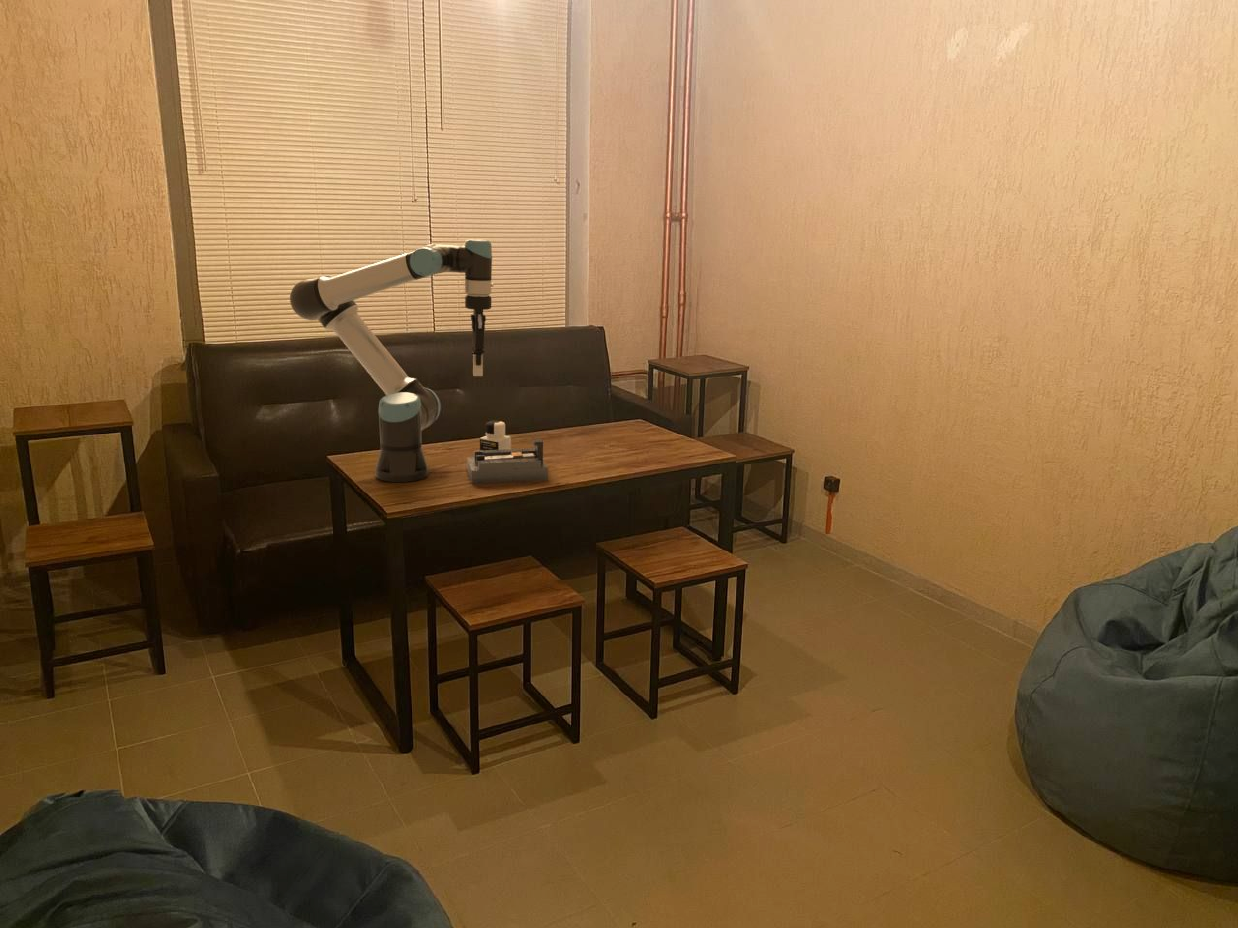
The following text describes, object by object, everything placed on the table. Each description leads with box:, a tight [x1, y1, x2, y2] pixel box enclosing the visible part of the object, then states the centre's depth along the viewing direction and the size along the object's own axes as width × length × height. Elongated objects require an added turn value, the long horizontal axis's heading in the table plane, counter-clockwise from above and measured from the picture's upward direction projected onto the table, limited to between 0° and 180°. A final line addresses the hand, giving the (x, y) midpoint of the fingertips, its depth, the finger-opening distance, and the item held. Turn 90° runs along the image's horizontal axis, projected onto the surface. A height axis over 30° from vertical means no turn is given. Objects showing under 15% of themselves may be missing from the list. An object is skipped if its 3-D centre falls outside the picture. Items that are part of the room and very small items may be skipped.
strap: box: [485, 452, 535, 461], centre depth 264 cm, size 17×4×2 cm, turn 105°
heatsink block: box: [466, 437, 549, 485], centre depth 264 cm, size 22×14×10 cm, turn 105°
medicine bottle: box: [479, 420, 512, 451], centre depth 280 cm, size 7×7×12 cm
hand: (477, 375), depth 265 cm, fingers closed
